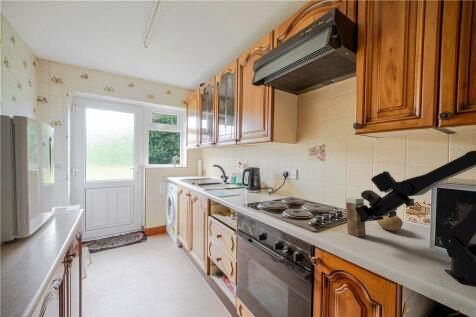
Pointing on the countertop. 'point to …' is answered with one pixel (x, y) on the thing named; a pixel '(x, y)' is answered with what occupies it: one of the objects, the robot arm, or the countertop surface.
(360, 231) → the walnut block
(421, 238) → the countertop surface
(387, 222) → the potato
